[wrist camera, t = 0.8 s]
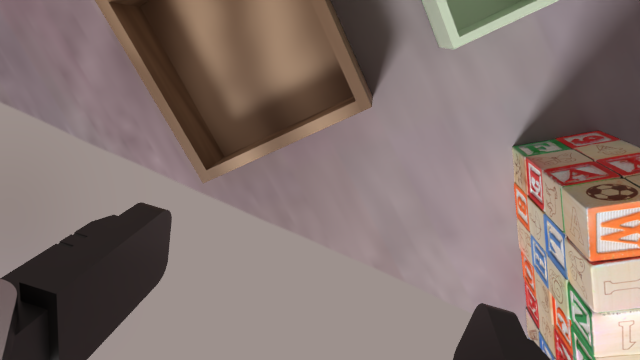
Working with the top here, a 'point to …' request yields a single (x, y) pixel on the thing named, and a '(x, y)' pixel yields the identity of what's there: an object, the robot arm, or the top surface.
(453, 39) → the small crate
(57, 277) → the robot arm
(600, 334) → the stack of blocks
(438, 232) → the top surface
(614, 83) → the top surface
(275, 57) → the big crate
